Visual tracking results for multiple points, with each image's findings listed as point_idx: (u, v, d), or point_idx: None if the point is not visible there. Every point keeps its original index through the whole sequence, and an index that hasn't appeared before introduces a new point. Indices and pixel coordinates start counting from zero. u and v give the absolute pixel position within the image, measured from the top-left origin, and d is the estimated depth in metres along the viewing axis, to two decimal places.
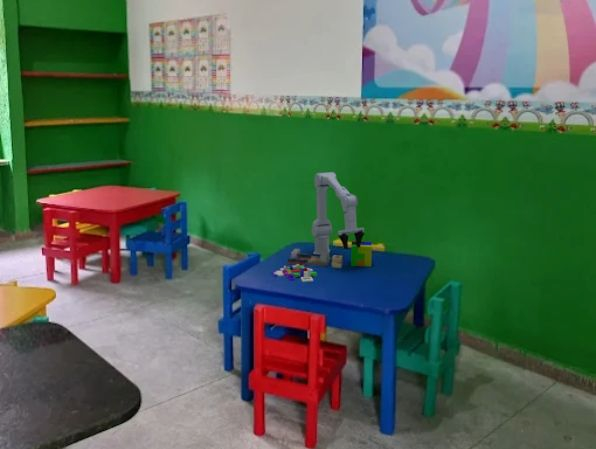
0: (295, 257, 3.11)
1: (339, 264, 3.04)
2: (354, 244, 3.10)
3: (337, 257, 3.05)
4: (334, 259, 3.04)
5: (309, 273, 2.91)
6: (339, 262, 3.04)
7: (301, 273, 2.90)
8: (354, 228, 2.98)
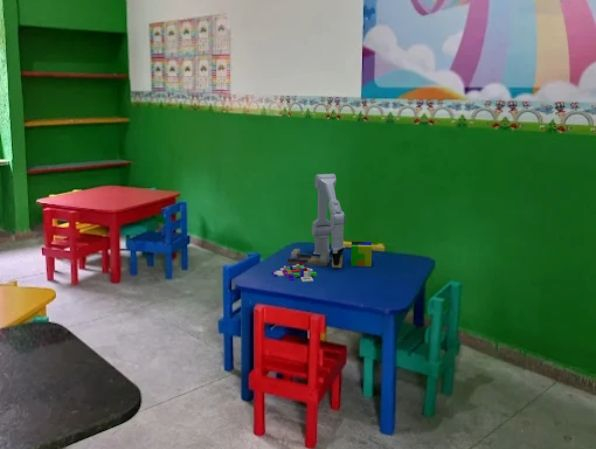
0: (295, 257, 3.11)
1: (339, 264, 3.04)
2: (354, 244, 3.10)
3: None
4: None
5: (309, 273, 2.91)
6: (339, 262, 3.04)
7: (301, 273, 2.90)
8: None
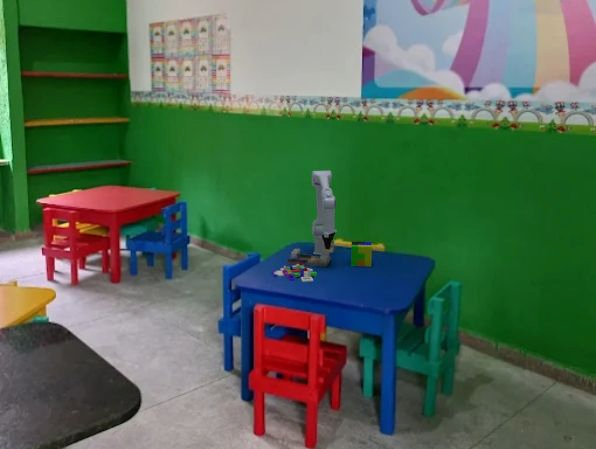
0: (295, 257, 3.11)
1: (331, 248, 3.05)
2: (354, 244, 3.10)
3: None
4: None
5: (309, 273, 2.91)
6: (331, 247, 3.05)
7: (301, 273, 2.90)
8: None
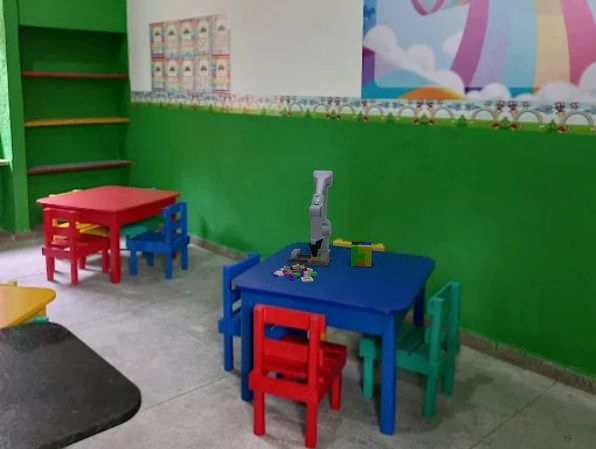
0: (295, 257, 3.11)
1: (318, 257, 3.10)
2: (354, 244, 3.10)
3: None
4: None
5: (309, 273, 2.91)
6: (318, 255, 3.10)
7: (301, 273, 2.90)
8: (321, 236, 3.10)
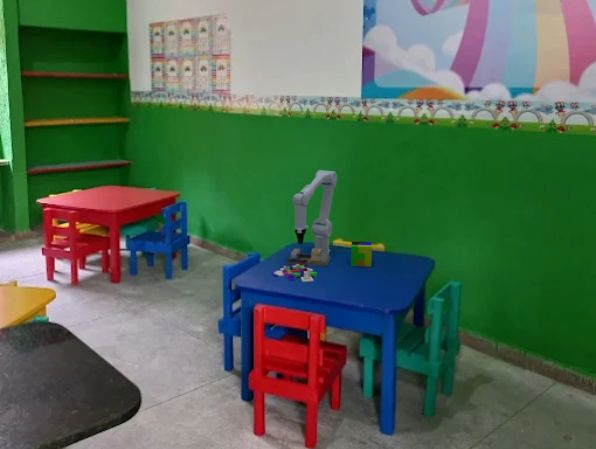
0: (295, 257, 3.11)
1: (318, 257, 3.10)
2: (354, 244, 3.10)
3: (316, 250, 3.11)
4: (313, 252, 3.10)
5: (309, 273, 2.91)
6: (318, 255, 3.10)
7: (301, 273, 2.90)
8: None
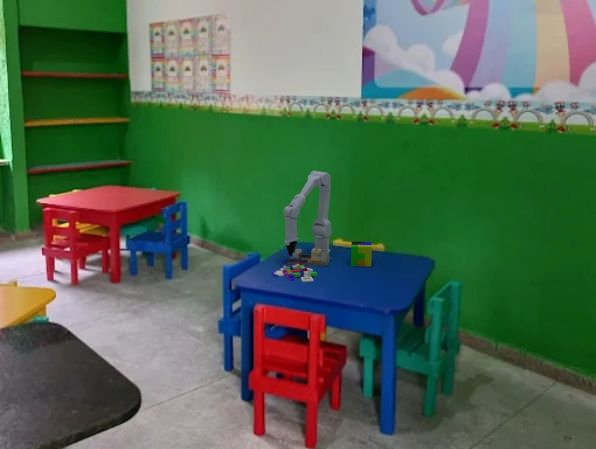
0: (297, 257, 3.11)
1: (318, 257, 3.10)
2: (354, 244, 3.10)
3: (316, 250, 3.11)
4: (313, 252, 3.10)
5: (309, 273, 2.91)
6: (318, 255, 3.10)
7: (301, 273, 2.90)
8: (296, 237, 3.12)
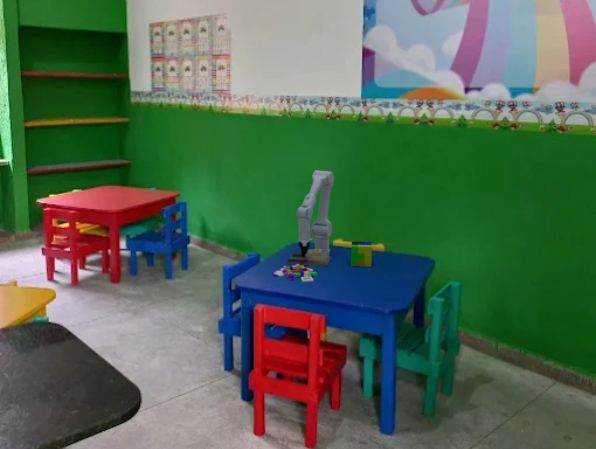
0: (310, 258, 3.09)
1: (319, 257, 3.10)
2: (354, 244, 3.10)
3: (317, 250, 3.11)
4: (314, 252, 3.10)
5: (309, 273, 2.91)
6: (319, 255, 3.10)
7: (301, 273, 2.90)
8: (309, 237, 3.12)
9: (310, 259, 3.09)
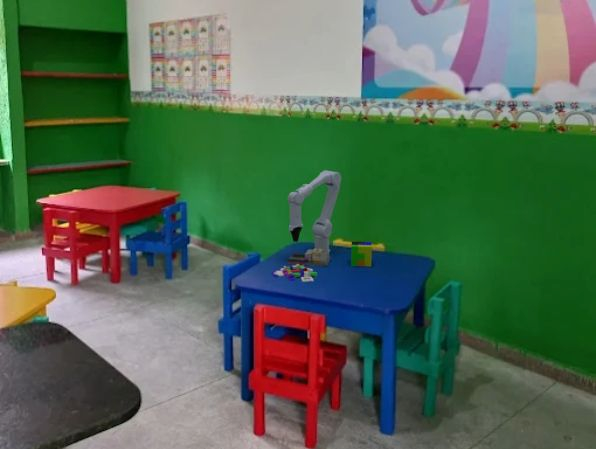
0: (309, 258, 3.09)
1: (319, 257, 3.10)
2: (354, 244, 3.10)
3: (317, 250, 3.11)
4: (314, 252, 3.10)
5: (309, 273, 2.91)
6: (319, 255, 3.10)
7: (301, 273, 2.90)
8: (300, 223, 3.14)
9: (309, 259, 3.10)
